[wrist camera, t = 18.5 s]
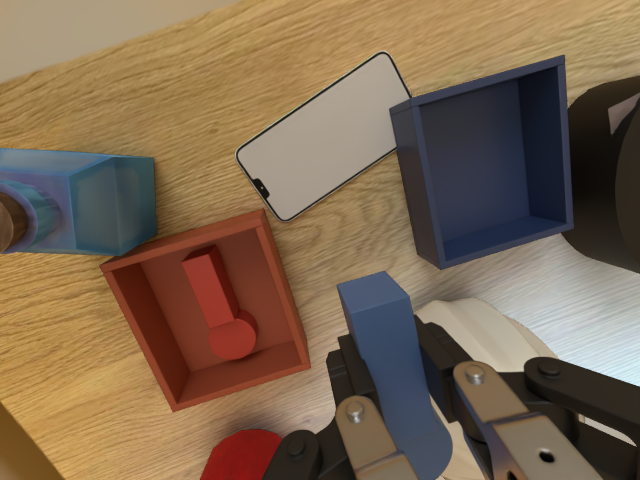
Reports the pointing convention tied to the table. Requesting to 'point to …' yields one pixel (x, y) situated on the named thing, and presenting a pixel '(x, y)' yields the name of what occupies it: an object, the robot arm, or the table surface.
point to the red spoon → (220, 305)
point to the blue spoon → (396, 369)
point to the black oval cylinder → (606, 173)
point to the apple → (242, 456)
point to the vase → (481, 358)
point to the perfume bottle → (75, 202)
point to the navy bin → (486, 163)
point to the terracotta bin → (188, 320)
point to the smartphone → (326, 139)
